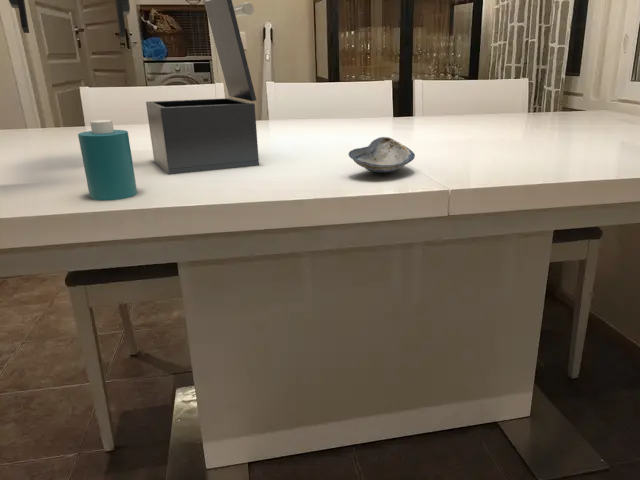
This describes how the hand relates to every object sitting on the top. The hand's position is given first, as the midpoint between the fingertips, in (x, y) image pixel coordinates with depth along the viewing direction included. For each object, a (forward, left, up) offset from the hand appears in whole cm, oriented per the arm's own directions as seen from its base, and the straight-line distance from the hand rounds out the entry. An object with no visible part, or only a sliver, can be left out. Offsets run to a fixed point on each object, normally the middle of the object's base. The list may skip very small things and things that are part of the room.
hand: (75, 32), depth 87 cm
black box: (+18, +1, -22) cm, 29 cm away
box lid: (+24, +1, -3) cm, 24 cm away
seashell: (+42, -22, -23) cm, 53 cm away
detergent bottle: (0, -17, -22) cm, 28 cm away
